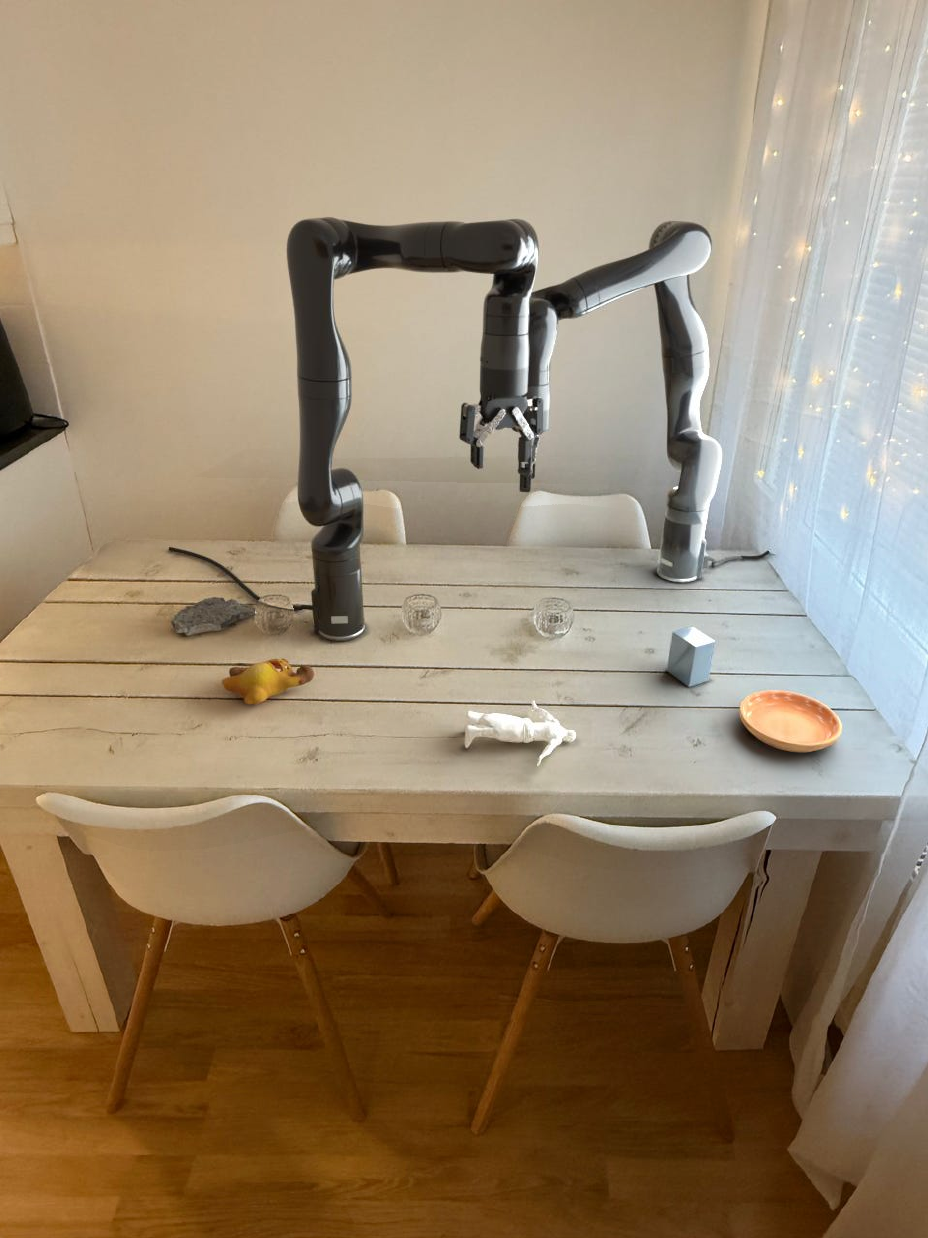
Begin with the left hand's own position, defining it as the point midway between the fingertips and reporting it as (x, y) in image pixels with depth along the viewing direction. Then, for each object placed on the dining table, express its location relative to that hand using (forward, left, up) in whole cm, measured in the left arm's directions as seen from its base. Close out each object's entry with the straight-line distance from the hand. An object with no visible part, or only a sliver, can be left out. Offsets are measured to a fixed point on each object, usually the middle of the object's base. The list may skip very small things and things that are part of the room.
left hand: (500, 464), depth 134 cm
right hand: (-2, +31, -14) cm, 35 cm away
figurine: (+10, -20, -40) cm, 46 cm away
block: (+35, +9, -40) cm, 53 cm away
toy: (-36, -20, -40) cm, 57 cm away
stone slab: (-60, 0, -40) cm, 72 cm away
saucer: (+52, -4, -40) cm, 65 cm away
